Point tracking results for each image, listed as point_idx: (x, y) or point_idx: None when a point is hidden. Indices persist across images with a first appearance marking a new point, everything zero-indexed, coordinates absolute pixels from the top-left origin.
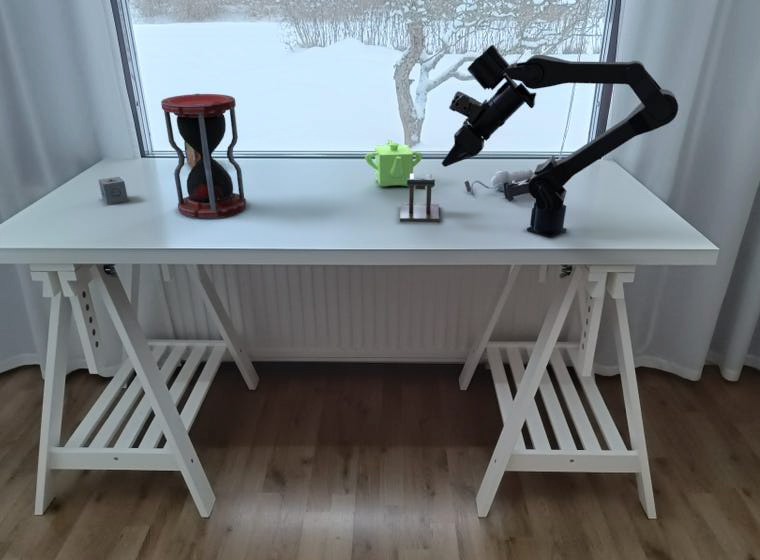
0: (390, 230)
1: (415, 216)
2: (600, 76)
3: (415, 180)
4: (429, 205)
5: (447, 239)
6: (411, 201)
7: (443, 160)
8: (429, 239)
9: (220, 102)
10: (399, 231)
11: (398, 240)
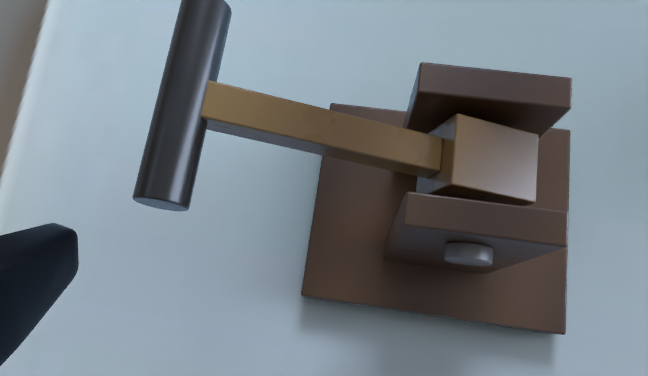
0: (243, 66)
1: (348, 177)
2: None
3: (172, 49)
4: (387, 246)
5: (87, 299)
6: None
7: (7, 234)
8: (104, 216)
9: None
10: None
11: (120, 88)
